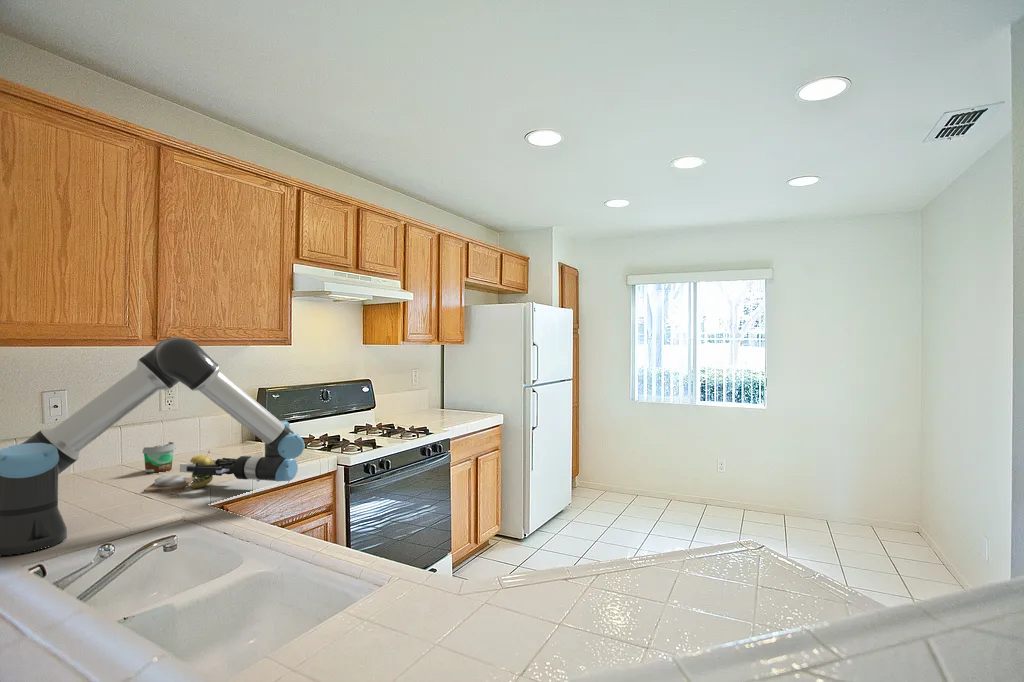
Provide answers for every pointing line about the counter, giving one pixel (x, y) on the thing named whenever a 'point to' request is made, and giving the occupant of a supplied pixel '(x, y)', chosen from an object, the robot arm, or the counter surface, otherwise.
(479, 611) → the counter surface
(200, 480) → the hamburger
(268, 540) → the counter surface
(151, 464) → the food container
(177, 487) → the soap dish
